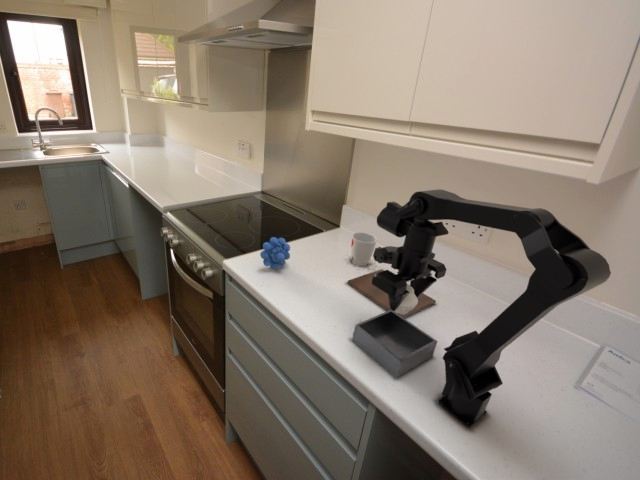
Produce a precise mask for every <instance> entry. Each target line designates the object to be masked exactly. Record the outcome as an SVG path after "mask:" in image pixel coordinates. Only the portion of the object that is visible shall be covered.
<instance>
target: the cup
mask: <svg viewBox="0 0 640 480" xmlns="http://www.w3.org/2000/svg"><path fill="white" fill-rule="evenodd" d="M377 241H378V239H377V237H376V236H374V235H373V234H370V233H366V232H354V233H353V234H352V237H351V244H350V247H351V248H350V256H351V262H352V264H354V265H355V266H357V267H365V266H367V264H368V263H369V261H370V260H371V258H372V257H373V254H374V251H375V248H376V244H377Z"/></svg>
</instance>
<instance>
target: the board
mask: <svg viewBox="0 0 640 480" xmlns="http://www.w3.org/2000/svg"><path fill="white" fill-rule="evenodd" d="M382 271H385V270H384V269H382V268H381V269H379V270H375V271H372V272H369V273H366V274H364V275H360V276H357V277H354V278H351V279H348V280H347V285H349V286H350V287H351V288H353V289H354V290H356V291H357V292H358V293H360V294H361V295H363V296H364V297H366V298H367V299H369V300H370V301H371V302H373V303H375V304H376V305H378V306H379V308H381V309H383V310H384V311H385V312H387V311H389V310H391V309H390V304H389V298H388V294H387V293H385V292H384V291H382V290H380V289H379V288H377V287H376V286H374V285H373V284H372V277H373V275H374V274H377V273H379V272H382ZM407 285H409V284H408V283H407ZM417 299H418V303H417V305H416V306H415V307H414V308H413V309H412V310H411V311H410V312H408V313H407V314H399V313H397V314H398V315H400V316H401V317H403V318H404V319H406V318H408V317H410V316H412V315H414V314H416V313H418V312H421V311H423V310H425V309H428V308H430V307H432V306H434V305H435V304H436V302H437V300H436V299H434V298H432V297H430V296H428V295H427V294H425V293H424V292H423V293H422V294H421V295H420V296H419V297H418V298H417ZM394 312H395V311H394Z"/></svg>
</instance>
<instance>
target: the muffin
mask: <svg viewBox="0 0 640 480" xmlns="http://www.w3.org/2000/svg"><path fill="white" fill-rule="evenodd" d="M406 290H407V291H409V293H408V295H407V296H406V297H405V299H404V300H403V301H402V303H401V304H400V305H399V307H398V308H397V309H396V310H395V312H396V313H399V314H407V313H408V312H410V311H411V310H412V309H413V308H414V307H415V306H416V305H417V303H418V299H417V297H416V295H415V294H414V289H413V288H412V287H411V286H410V284H408V285H407V288H406Z"/></svg>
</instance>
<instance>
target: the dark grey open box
mask: <svg viewBox="0 0 640 480" xmlns="http://www.w3.org/2000/svg"><path fill="white" fill-rule="evenodd" d="M351 339H352V340H351V341H352V342H353V343H355V344H356V345H357V346H358V347H359V348H361V350H362V351H364V352H365V353H366V354H368V356H370V357H371V358H372V359H373V360H374V361H375V362H376V363H378V364H379V365H380V366H381V367H382V368H384V369H385V370H386V371H387V372H388V373H389V374H391V375H392V376H393V377H394V378H395V379H397V378H399V377H401V376H402V375H405V373H407V372H409V371H411V370H413V369H414V368H416V367H418V366H420V365H421V364H423V363H424V362H426V361H428V360H429V359H431V358H433V356H434V354H435V351H436V349H437V348H436V347H437V344H438V340H437V339H435V338H434V337H432V336H431V335H429V334H428V333H426V332H425V331H423V330H422V329H421V328H419V327H418V326H416V325H414V323H412V322H410V321H409V320H407V319H406V318H403V317H401V316H400V315H398V314H397V313H396V312H394V311H393V310H389V311H384V312H381V313H379V314H377V315H375V316H373V317H370V318H368V319H366V320H363V321H361V322H358V323H357V324H354V328H353V334H352V338H351Z"/></svg>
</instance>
